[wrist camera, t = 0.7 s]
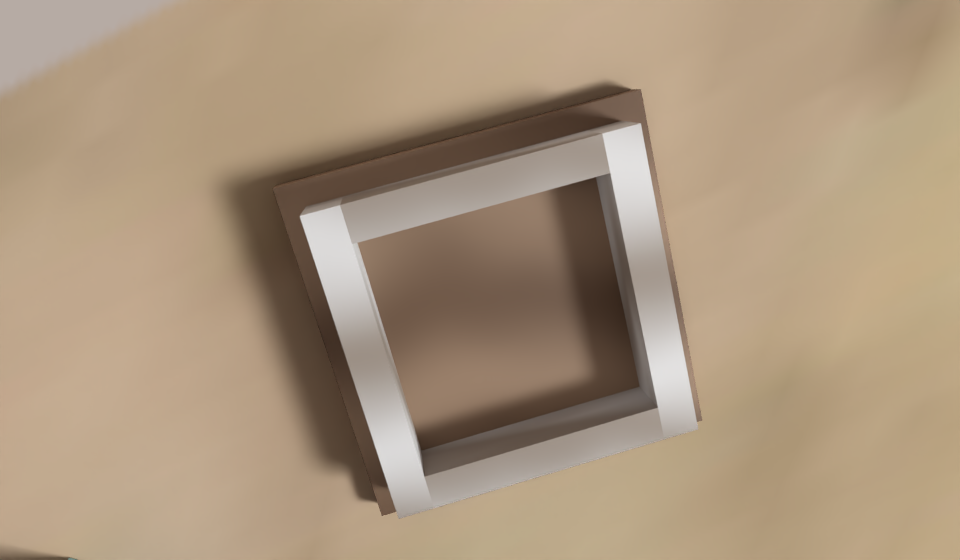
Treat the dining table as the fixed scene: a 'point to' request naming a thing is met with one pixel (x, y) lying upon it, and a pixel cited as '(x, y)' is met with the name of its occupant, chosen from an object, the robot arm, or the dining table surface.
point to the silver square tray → (498, 302)
